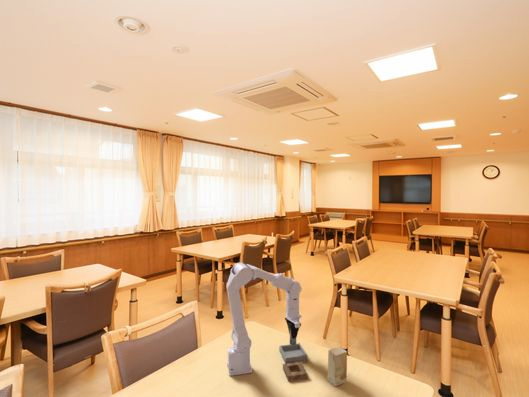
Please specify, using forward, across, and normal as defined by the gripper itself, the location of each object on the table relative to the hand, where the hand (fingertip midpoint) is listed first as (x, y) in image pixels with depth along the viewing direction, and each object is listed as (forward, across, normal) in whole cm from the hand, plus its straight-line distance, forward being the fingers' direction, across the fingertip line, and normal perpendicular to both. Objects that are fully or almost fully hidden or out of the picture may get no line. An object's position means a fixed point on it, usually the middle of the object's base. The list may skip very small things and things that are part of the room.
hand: (292, 335), depth 128 cm
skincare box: (+9, -20, -12) cm, 25 cm away
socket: (+9, -12, +3) cm, 15 cm away
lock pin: (+3, 0, 0) cm, 3 cm away
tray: (+9, 0, 0) cm, 9 cm away
